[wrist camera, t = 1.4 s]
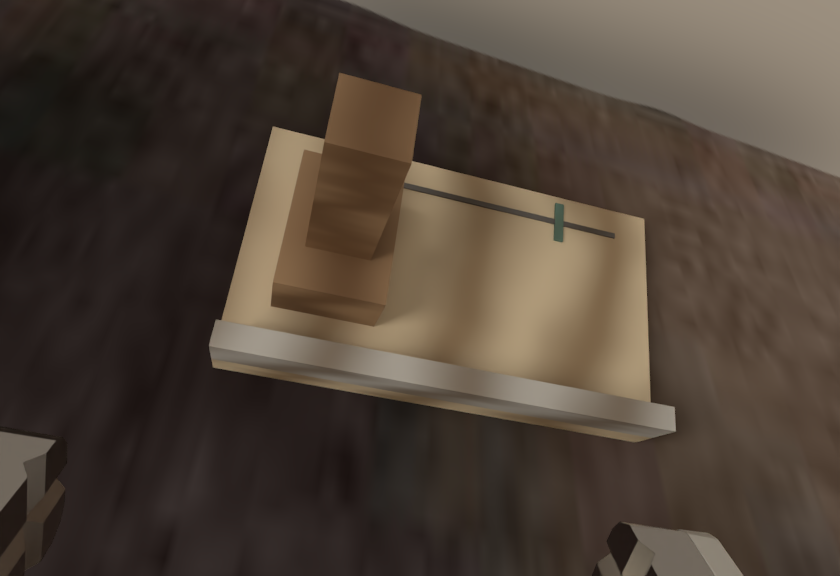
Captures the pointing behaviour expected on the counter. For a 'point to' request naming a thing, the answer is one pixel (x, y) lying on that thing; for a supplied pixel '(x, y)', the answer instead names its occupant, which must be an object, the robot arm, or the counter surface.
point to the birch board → (464, 306)
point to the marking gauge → (349, 206)
